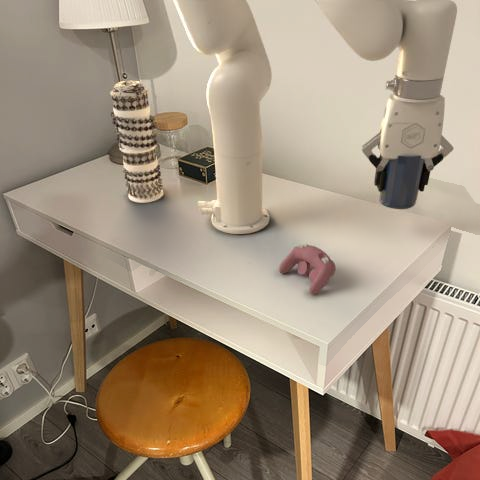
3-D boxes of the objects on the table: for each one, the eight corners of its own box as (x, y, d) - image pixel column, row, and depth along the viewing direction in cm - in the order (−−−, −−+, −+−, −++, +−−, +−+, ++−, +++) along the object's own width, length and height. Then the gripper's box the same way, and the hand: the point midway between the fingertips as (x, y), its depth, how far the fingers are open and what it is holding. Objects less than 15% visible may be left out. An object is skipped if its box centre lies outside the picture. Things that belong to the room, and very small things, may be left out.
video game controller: (327, 297, 85) (344, 261, 83) (311, 296, 82) (327, 258, 80) (291, 272, 92) (306, 238, 89) (275, 271, 89) (289, 235, 86)
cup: (382, 209, 91) (390, 157, 85) (376, 194, 97) (384, 143, 90) (419, 209, 91) (430, 156, 84) (411, 193, 96) (421, 143, 90)
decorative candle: (119, 195, 118) (97, 84, 102) (151, 184, 122) (134, 76, 107) (140, 207, 112) (119, 91, 97) (172, 194, 117) (158, 82, 101)
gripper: (367, 94, 79) (355, 197, 90) (478, 92, 77) (451, 197, 88) (362, 83, 84) (351, 181, 96) (464, 81, 83) (441, 180, 94)
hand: (399, 188), depth 92 cm, fingers closed on cup, 6 cm apart
